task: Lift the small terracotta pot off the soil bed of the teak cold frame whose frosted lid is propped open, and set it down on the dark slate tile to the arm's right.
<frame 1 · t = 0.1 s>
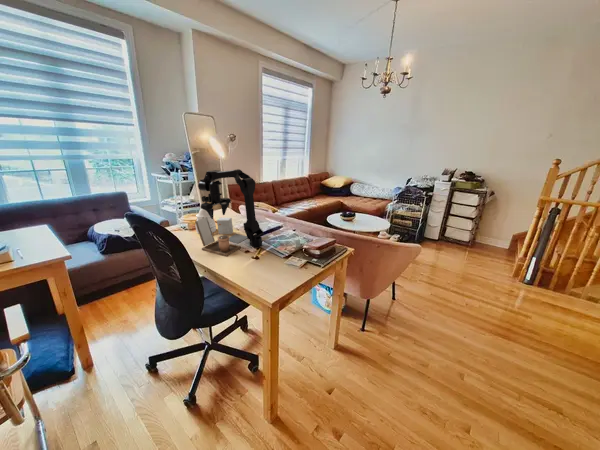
hand: (218, 216, 150), 15 cm above the table, fingers open, 9 cm apart
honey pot: (206, 231, 168), on the table
propped lid: (205, 231, 140), point 9 cm above the table, hinge at 105.0°
terracotta pot: (224, 249, 137), point 1 cm above the table, touching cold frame
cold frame: (221, 250, 139), on the table
slate tile: (237, 240, 152), on the table
small box: (226, 234, 163), on the table
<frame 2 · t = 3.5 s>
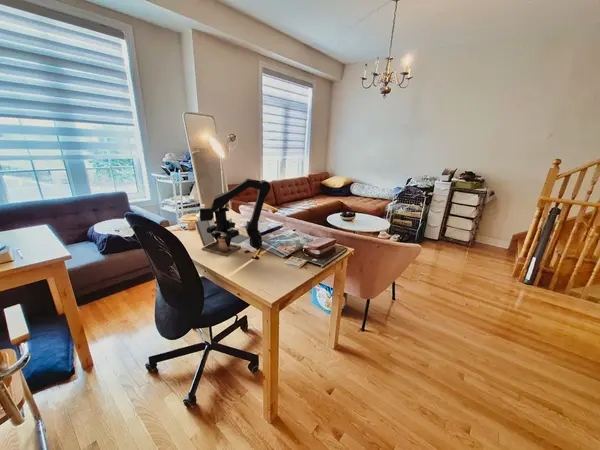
hand: (224, 245, 136), 4 cm above the table, fingers closed on terracotta pot, 6 cm apart
terracotta pot: (224, 249, 137), point 1 cm above the table, touching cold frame, gripper
everything else where it was.
when the fingers open (5 cm above the table, at t = 7.9 s): terracotta pot stays where it is, resting on slate tile.
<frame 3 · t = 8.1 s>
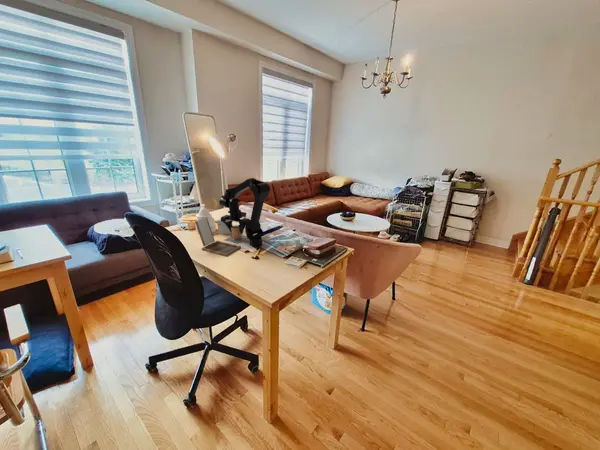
hand: (236, 233, 151), 5 cm above the table, fingers open, 8 cm apart
terracotta pot: (237, 238, 152), point 1 cm above the table, touching slate tile
everything else where it was.
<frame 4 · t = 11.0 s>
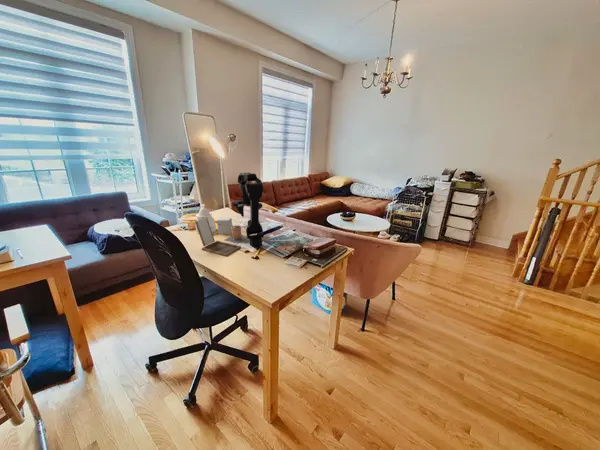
hand: (248, 217, 154), 12 cm above the table, fingers open, 9 cm apart
nothing on the table moved.
at the end: terracotta pot inside the target area on the slate tile (0.1 cm from its centre), point 1.2 cm above the slate tile's base; terracotta pot tilted 0°; the gripper is holding nothing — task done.
